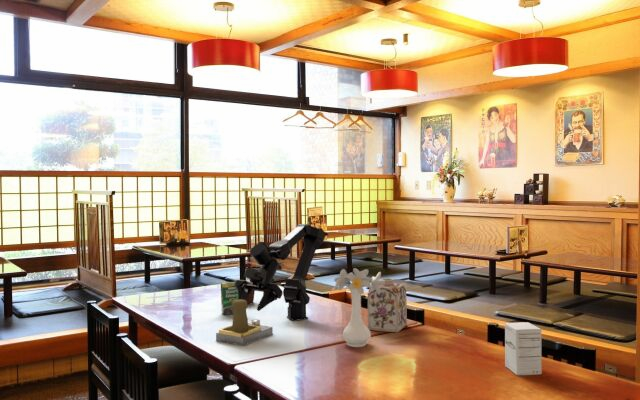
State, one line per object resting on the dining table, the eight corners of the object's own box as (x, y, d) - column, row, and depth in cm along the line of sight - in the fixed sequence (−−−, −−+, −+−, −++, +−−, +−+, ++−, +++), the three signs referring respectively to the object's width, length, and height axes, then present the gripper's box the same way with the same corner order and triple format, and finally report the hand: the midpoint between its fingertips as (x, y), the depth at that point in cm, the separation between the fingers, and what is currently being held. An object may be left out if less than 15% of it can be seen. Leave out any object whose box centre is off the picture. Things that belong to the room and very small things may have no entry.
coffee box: (222, 315, 217) (221, 283, 217) (221, 313, 220) (220, 282, 220) (241, 313, 220) (241, 282, 220) (239, 311, 223) (239, 280, 223)
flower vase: (390, 342, 175) (389, 267, 175) (351, 354, 163) (350, 273, 162) (362, 334, 185) (361, 263, 184) (323, 345, 172) (322, 269, 172)
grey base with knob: (246, 329, 194) (246, 317, 194) (272, 333, 188) (272, 321, 188) (216, 340, 181) (215, 327, 181) (242, 345, 174) (242, 332, 174)
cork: (239, 334, 178) (239, 302, 178) (227, 332, 182) (227, 300, 181) (252, 331, 183) (252, 299, 182) (240, 328, 186) (240, 297, 186)
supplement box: (504, 366, 150) (503, 322, 149) (529, 365, 150) (529, 321, 150) (516, 375, 142) (515, 329, 142) (542, 374, 143) (542, 328, 143)
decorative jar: (407, 325, 197) (407, 277, 196) (398, 333, 186) (398, 282, 186) (377, 322, 202) (376, 275, 201) (366, 330, 191) (366, 280, 191)
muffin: (261, 302, 242) (261, 280, 241) (245, 307, 232) (245, 284, 232) (241, 299, 248) (241, 278, 248) (225, 304, 239) (225, 282, 238)
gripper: (236, 257, 194) (216, 293, 186) (276, 261, 184) (257, 298, 175) (251, 275, 201) (232, 310, 192) (290, 279, 191) (272, 316, 182)
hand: (247, 308), depth 185 cm, fingers open, 9 cm apart
